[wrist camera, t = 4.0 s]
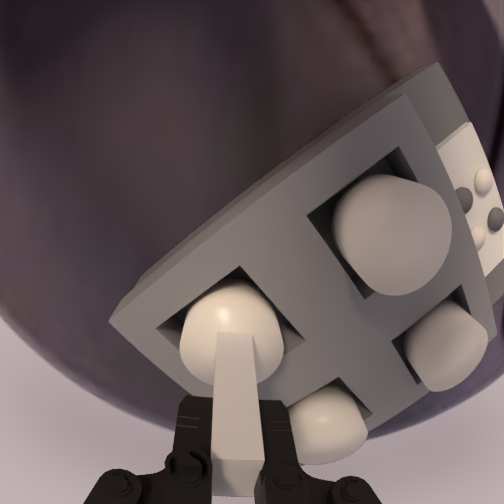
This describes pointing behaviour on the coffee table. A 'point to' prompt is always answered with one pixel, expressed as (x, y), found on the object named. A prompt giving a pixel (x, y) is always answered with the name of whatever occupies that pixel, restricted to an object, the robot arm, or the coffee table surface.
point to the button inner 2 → (392, 232)
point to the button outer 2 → (445, 346)
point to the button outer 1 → (326, 426)
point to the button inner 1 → (231, 327)
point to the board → (337, 254)
